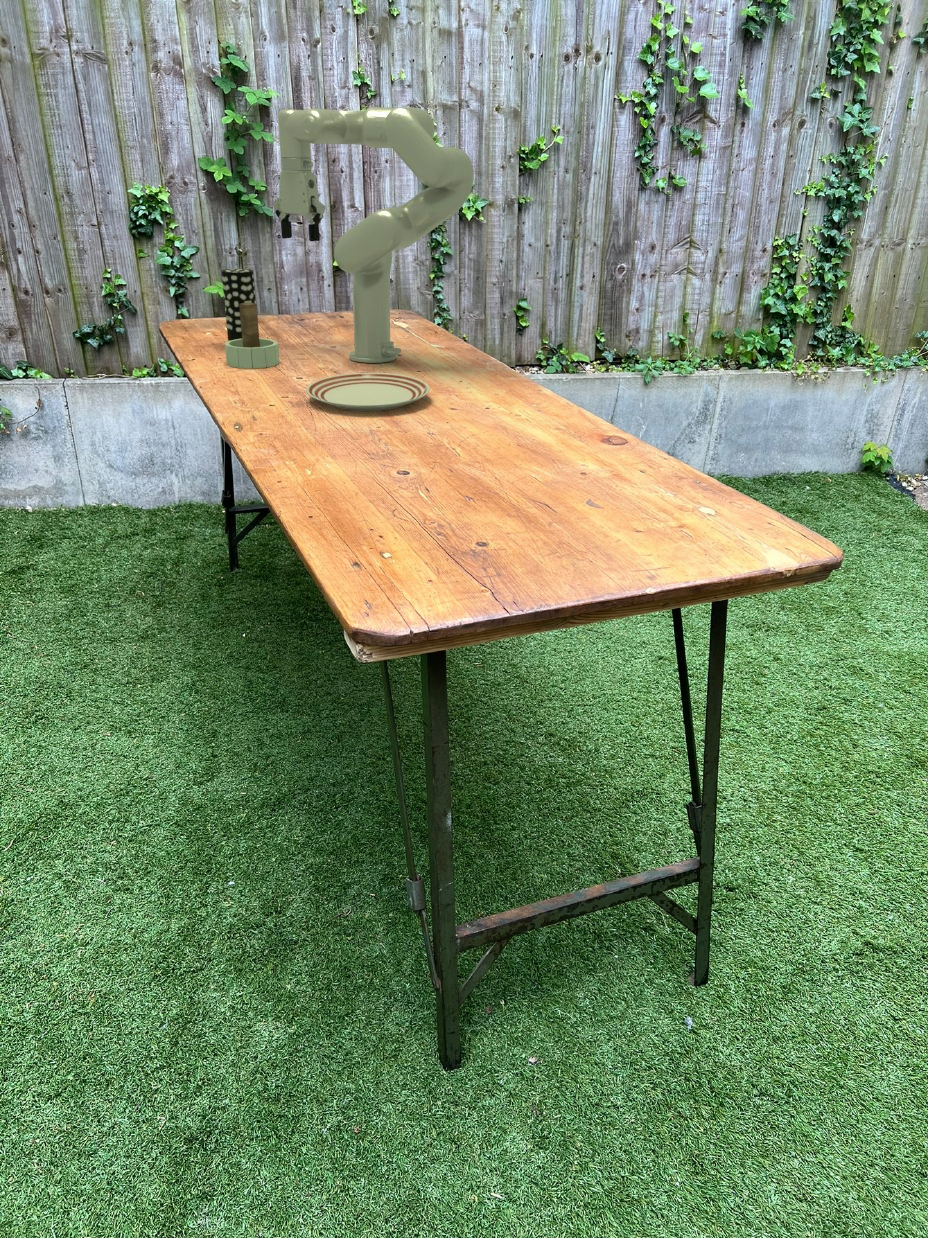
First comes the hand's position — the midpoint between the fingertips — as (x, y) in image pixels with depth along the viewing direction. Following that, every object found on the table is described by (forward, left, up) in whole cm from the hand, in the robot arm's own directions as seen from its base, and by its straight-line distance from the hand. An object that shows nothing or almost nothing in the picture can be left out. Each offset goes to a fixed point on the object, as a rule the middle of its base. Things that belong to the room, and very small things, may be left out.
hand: (300, 239), depth 236 cm
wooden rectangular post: (0, +20, -28) cm, 34 cm away
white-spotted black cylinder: (+16, +8, -28) cm, 34 cm away
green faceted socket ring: (0, +20, -28) cm, 35 cm away
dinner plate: (-47, +30, -29) cm, 63 cm away
